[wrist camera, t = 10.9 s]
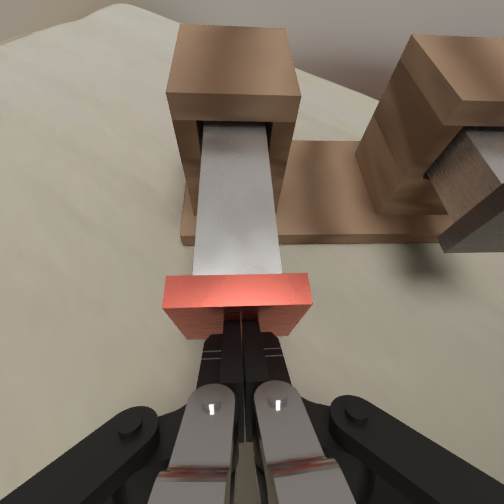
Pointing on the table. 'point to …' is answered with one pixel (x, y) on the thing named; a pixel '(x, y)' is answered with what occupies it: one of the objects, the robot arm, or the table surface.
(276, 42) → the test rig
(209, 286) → the red plug
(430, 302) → the table surface
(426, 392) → the table surface
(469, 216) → the charcoal plug
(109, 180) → the table surface
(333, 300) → the table surface
